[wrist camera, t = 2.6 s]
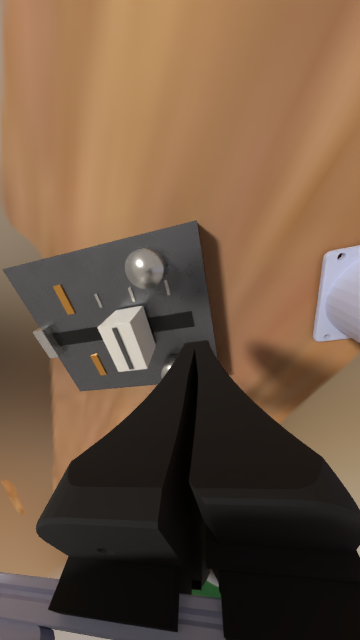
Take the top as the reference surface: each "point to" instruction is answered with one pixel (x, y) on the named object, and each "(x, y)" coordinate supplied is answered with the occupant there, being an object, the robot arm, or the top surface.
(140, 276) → the console
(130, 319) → the fader cap
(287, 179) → the top surface
